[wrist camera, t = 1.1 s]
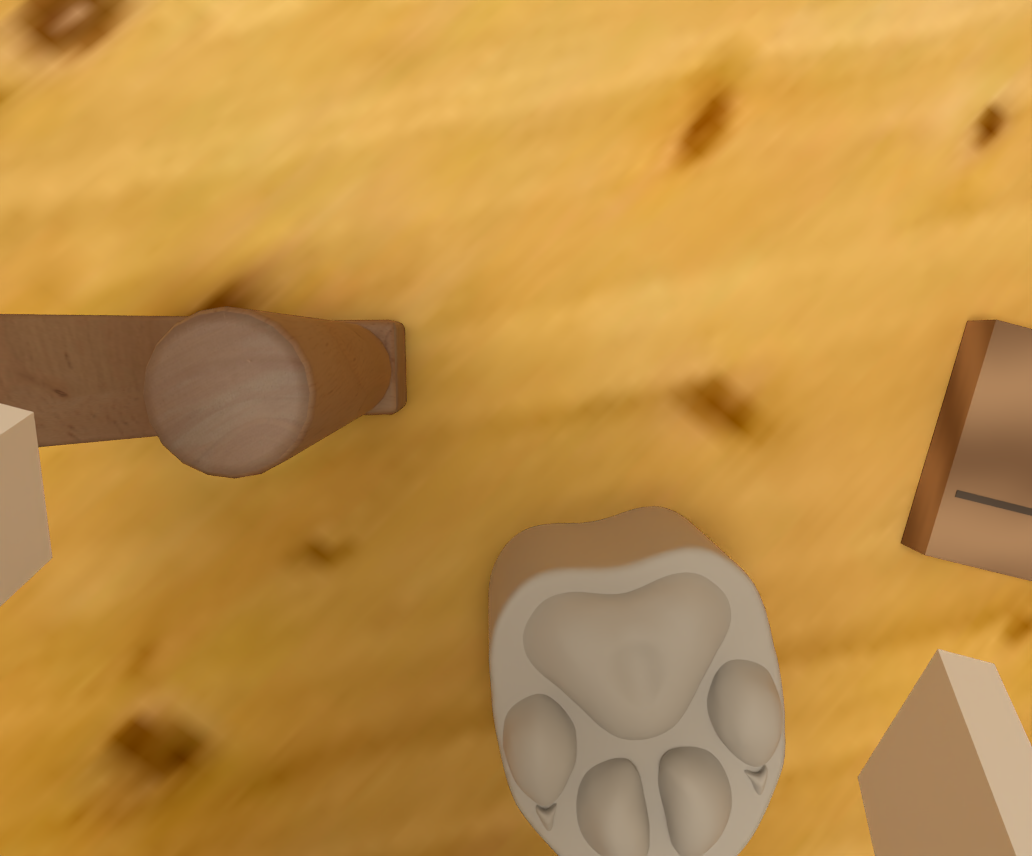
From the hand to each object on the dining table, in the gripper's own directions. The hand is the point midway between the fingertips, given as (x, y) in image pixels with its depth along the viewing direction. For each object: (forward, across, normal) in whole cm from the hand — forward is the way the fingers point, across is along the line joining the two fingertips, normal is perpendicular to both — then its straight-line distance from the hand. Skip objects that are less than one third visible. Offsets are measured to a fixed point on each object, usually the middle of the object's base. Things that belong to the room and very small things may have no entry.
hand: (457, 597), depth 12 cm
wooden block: (+20, +11, +9) cm, 25 cm away
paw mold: (+18, -6, +18) cm, 26 cm away
